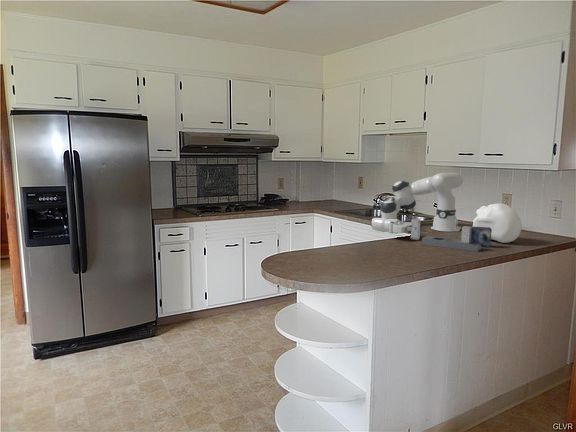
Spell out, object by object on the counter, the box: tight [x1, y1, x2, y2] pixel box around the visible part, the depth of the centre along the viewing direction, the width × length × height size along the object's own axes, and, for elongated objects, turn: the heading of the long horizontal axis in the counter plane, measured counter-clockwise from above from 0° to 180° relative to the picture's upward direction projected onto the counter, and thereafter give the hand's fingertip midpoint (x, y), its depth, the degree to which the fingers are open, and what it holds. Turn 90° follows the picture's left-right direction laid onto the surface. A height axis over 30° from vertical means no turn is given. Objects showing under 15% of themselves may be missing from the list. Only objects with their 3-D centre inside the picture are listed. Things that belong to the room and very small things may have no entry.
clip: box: [410, 218, 421, 241], centre depth 249 cm, size 4×4×12 cm
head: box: [472, 202, 522, 244], centre depth 247 cm, size 20×28×28 cm
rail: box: [421, 225, 482, 252], centre depth 230 cm, size 7×30×12 cm, turn 51°
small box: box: [469, 225, 492, 248], centre depth 232 cm, size 11×6×10 cm, turn 73°
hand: (417, 228), depth 248 cm, fingers closed on clip, 4 cm apart
